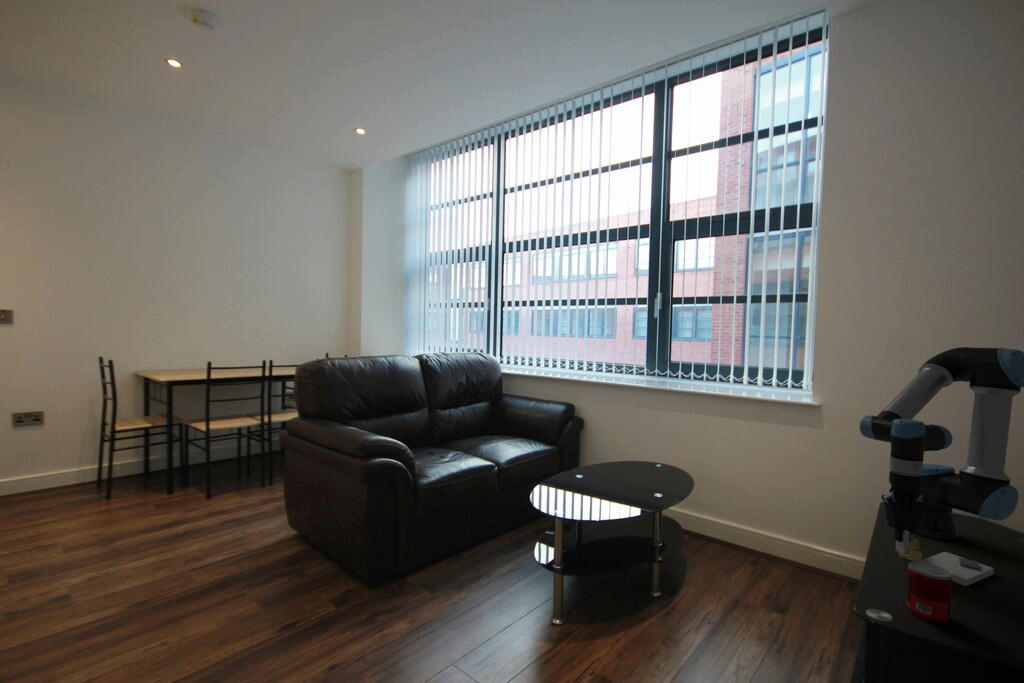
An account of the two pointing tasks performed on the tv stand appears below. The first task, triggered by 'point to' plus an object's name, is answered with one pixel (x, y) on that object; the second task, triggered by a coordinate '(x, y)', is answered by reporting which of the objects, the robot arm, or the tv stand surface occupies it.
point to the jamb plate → (903, 556)
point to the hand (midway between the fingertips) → (901, 552)
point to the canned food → (929, 591)
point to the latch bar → (914, 550)
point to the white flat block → (960, 568)
